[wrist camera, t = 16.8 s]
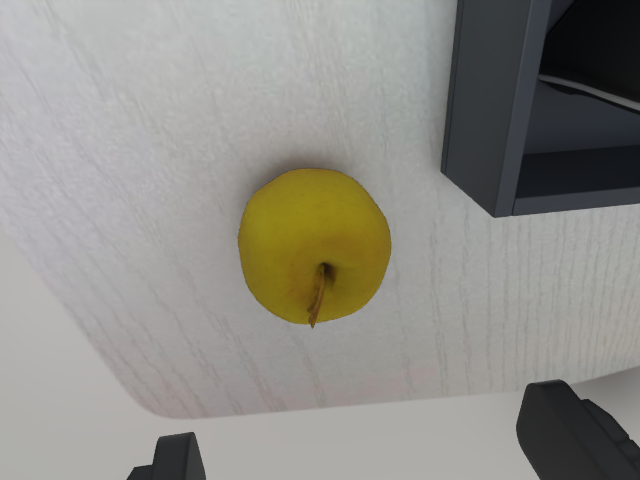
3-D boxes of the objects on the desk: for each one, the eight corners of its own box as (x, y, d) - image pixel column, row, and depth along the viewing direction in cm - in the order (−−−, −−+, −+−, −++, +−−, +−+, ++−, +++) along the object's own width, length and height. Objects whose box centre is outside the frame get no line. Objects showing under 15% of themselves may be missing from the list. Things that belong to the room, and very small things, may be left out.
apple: (258, 273, 24) (264, 383, 17) (221, 162, 21) (210, 243, 14) (372, 243, 24) (423, 341, 17) (352, 130, 21) (406, 193, 14)
